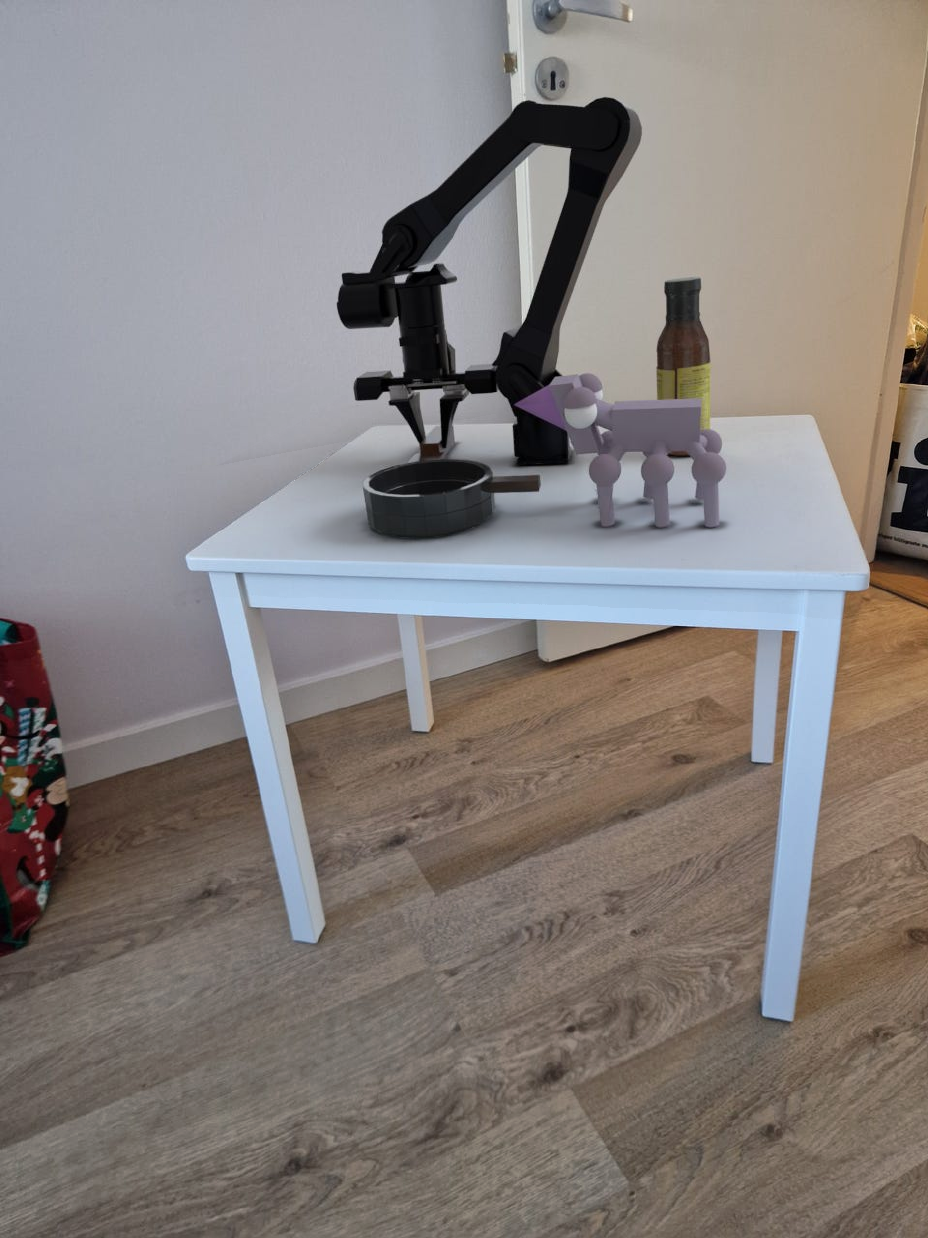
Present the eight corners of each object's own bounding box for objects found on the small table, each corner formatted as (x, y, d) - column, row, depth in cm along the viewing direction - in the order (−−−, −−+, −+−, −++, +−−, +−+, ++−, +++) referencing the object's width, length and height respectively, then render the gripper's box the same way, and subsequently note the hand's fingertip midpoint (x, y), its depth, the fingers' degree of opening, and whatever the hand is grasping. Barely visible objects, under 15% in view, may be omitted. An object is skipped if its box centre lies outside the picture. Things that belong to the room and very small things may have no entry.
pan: (502, 496, 87) (500, 456, 85) (484, 539, 76) (480, 494, 74) (388, 499, 90) (382, 461, 88) (352, 541, 78) (345, 498, 76)
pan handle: (540, 485, 80) (540, 474, 80) (538, 491, 79) (538, 480, 78) (492, 487, 81) (491, 476, 81) (489, 493, 80) (489, 482, 79)
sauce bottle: (715, 445, 98) (724, 273, 90) (699, 459, 94) (707, 279, 85) (664, 443, 102) (668, 277, 93) (647, 455, 97) (649, 282, 88)
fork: (432, 444, 112) (430, 426, 111) (459, 443, 112) (458, 424, 110) (402, 479, 97) (399, 459, 96) (433, 478, 96) (431, 457, 95)
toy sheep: (509, 531, 77) (500, 390, 71) (531, 497, 86) (524, 369, 80) (722, 533, 71) (731, 380, 66) (722, 497, 81) (729, 359, 75)
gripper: (503, 312, 104) (511, 430, 110) (369, 323, 107) (384, 436, 114) (491, 322, 94) (500, 451, 101) (343, 333, 98) (362, 456, 104)
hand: (435, 447), depth 105 cm, fingers closed on fork, 2 cm apart
